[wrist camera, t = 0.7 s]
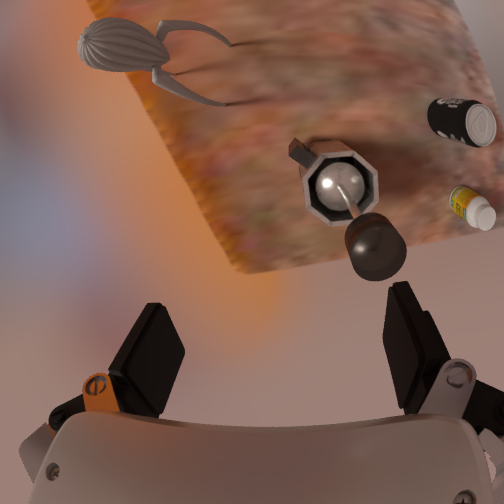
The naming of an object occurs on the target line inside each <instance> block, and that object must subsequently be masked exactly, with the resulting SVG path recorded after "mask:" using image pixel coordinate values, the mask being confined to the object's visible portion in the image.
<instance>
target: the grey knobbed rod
mask: <svg viewBox="0 0 504 504" xmlns="http://www.w3.org/2000/svg"><path fill="white" fill-rule="evenodd" d="M315 187H316V192H317V195H318V197H319V199H320V201H321V202H322V203H323V204H324V205H325V206H326V207H328V208H330V209H333V210H338V211H341V210H347V209H349V211H350V213H351V215H352V216H353V218H354V220H353V221H352V222H351V223H350V224H349V226H348V227H347V230H346V233H345V245H346V248H347V251H348V254H349V257H350V259H351V262H352V265H353V268H354V270H355V272H356V273H357V274H358V275H359V276H360V277H362V278H363V279H365V280H368V281H382V280H385V279H388V278H390V277H392V276H393V275H394V274H396V273H397V272H398V271H399V270H400V268H401V267H402V265H403V264H404V261H405V259H406V253H407V249H406V244H405V242H404V240H403V238H402V237H401V235H400V234H399V233H398V231H397V230H396V229H395V227H394V226H393V225H392V224H391V222H390V221H389V220H388V219H387V218H386V217H385V216H383V215H381V214H379V213H373V212H372V213H365V214H362V213H361V211H360V210H359V208H358V206H357V205H356V204H357V203H358V202H359V201H360V199H361V198H362V195H363V192H364V180H363V178H362V175H361V174H360V172H359V171H358V170H357V169H356V168H355V167H354V166H352V165H351V164H349V163H346V162H333V163H330V164H328V165H326V166H325V167H324V168H322V170H321V171H320V172H319V174H318V176H317V178H316V184H315Z"/></svg>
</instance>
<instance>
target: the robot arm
mask: <svg viewBox="0 0 504 504" xmlns="http://www.w3.org/2000/svg"><path fill="white" fill-rule="evenodd" d="M383 344H384V348H385V351H386V355H387V359H388V363H389V367H390V371H391V375H392V379H393V383H394V387H395V392H396V396H397V401H398V405H399V408H400V409H402V408H403V409H404V413H405V415H401V416H394V417H386V418H380V419H374V420H366V421H357V422H348V423H339V424H329V425H314V426H296V427H244V426H223V425H209V424H199V423H188V422H180V421H173V420H166V419H159V415H160V414H162V413H163V411H164V409H165V406H166V403H167V401H168V398H169V395H170V392H171V390H172V387H173V384H174V381H175V379H176V376H177V374H178V371H179V368H180V365H181V363H182V360H183V357H184V355H185V349H184V346H183V344H182V342H181V340H180V338H179V336H178V333H177V331H176V329H175V327H174V325H173V323H172V321H171V318H170V316H169V314H168V311H167V309H166V307H165V306H163V305H162V304H161V303H147V305H146V306H145V308H144V309H143V311H142V313H141V314H140V316H139V318H138V319H137V321H136V323H135V324H134V326H133V327H132V329H131V331H130V332H129V334H128V336H127V337H126V339H125V341H124V343H123V344H122V346H121V348H120V349H119V351H118V353H117V355H116V356H115V358H114V360H113V362H112V363H111V365H110V367H109V369H108V370H109V374H108V375H107V374H105V373H97V374H94V375H92V376H90V377H89V378H88V379H87V380H86V382H85V383H84V385H83V390H82V391H83V394H81V395H79V396H77V397H76V398H74V399H72V400H70V401H68V402H66V403H64V404H62V405H60V406H58V407H56V408H55V409H54V410H53V411H52V412H51V414H50V416H49V424H47V423H46V422H45V423H44V424H43V425H42V426H41V427H40V428H38V429H37V430H36V431H35V432H34V433H33V434H31V435H30V436H29V437H28V438H27V439H26V440H24V441H23V442H22V444H21V446H20V449H19V453H20V457H21V459H22V461H23V464H24V466H25V468H26V470H27V472H28V474H29V476H30V478H31V480H32V482H33V484H34V485H33V487H32V490H31V493H30V496H29V499H28V502H27V504H504V392H503V391H500V390H498V389H496V388H494V387H492V386H489V385H487V384H485V383H483V382H480V381H479V380H476V371H475V369H474V367H473V366H472V365H471V364H470V363H469V362H468V361H466V360H463V359H451V357H450V355H449V353H448V351H447V348H446V346H445V344H444V342H443V339H442V337H441V335H440V333H439V331H438V329H437V327H436V325H435V322H434V320H433V318H432V316H431V314H430V313H429V311H423V310H422V308H421V307H420V304H419V302H418V301H417V298H416V297H415V294H414V293H413V291H412V289H411V287H410V285H409V283H408V282H407V281H402V282H395V283H393V286H392V287H389V290H388V299H387V307H386V315H385V322H384V330H383ZM408 414H409V415H408ZM485 451H486V452H487V453H488V454H489V455H490V456H491V457H490V458H489V459H490V460H491V461H492V462H493V463H494V465H495V467H496V476H495V479H494V480H493V482H492V483H491V478H490V473H489V469H488V464H487V460H486V456H485V453H484V452H485ZM457 494H458V495H457Z"/></svg>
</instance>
